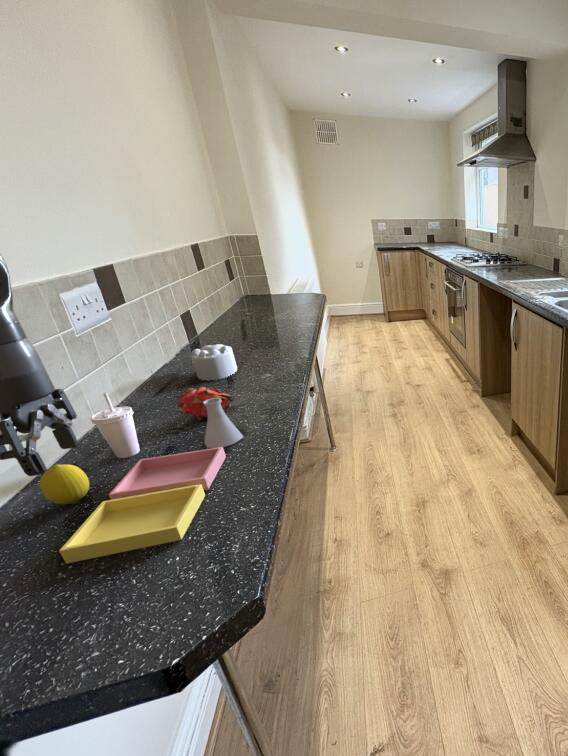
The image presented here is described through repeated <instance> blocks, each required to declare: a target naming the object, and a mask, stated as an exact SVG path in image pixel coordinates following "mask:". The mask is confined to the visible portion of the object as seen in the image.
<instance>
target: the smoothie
mask: <svg viewBox="0 0 568 756" xmlns="http://www.w3.org/2000/svg"><path fill="white" fill-rule="evenodd" d="M102 394H103V397H104V399H105V401H106V404H107V406H108V408H107V409H103V410H100V411H98V412H95V413H94V414H92V415H91V417H90V421H91V423H92V424H93V425H95V426H96V427H97V430H99V432H100V434H101V436H103V438H104V440H105V441H106V443H107V444H108V446H110V449H111V450H112V452H113V453H114V455H115V456H116V458H117V459H127V458H131V457H133V456H135V455H138V453H140V451H141V449H140V445H139V440H138V435H137V430H136V426H135V422H134V417H133V415H134V411H133V408H132V407H130V406H116V407H113V404H112V402H111V399H110V397H109V394H108V392H107V391H104V392H102Z"/></svg>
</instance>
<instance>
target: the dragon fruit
mask: <svg viewBox="0 0 568 756" xmlns="http://www.w3.org/2000/svg"><path fill="white" fill-rule="evenodd" d="M212 398H220V399H221V401H222V402H221V406H222V409H223V411H225V410H227V409H228V408H231V403H232V402H235V398H234V396H232V395H231V394H229V393H224V392H221V390H219V389H218V388H209V387H205V386H200V387H199V388H195V387H194V388H192V387H191V388H188V389H187V391H183V392H182V393H181V395H180V396H179V398H178V402H177V403H176V404H177V407H178V408H180V409H179V412H178V413H181V414H183V415H185V416H186V415H188V416H189V415H192V416H194V417H195V418H196V419H197V420H198V421H201V420H202V419H203V418H208V414H207V408H206V406H205V405H204V404H203V402H204V401H206V400H208V399H212Z"/></svg>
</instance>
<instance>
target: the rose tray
mask: <svg viewBox="0 0 568 756" xmlns="http://www.w3.org/2000/svg"><path fill="white" fill-rule="evenodd" d="M226 458H227V456H226V452H225V449H224V447H218V448H206V449H205V448H204V449H198V450H193V451H187V452H179V453H173V454H166V455H161V456H154V457H145V458H142V459H138V461H137V462H136V463H135V464H134V465H133V467H132V468H130V469H129V470H128V472H127V473H126V474H125V476H124V477H123V478H122V479H121V480H120V481H119V482H118V483H117V484H116V486H114V488H113V489H112V490H111V491H110V492H109V493H108V497H109V500H113V499H119V498H124V497H130V496H136V495H142V494H147V493H153V492H159V491H164V490H170V489H176V488H181V487H187V486H193V485H199V484H202V487H203V490H204V491H207V490H209V489H210V488H211V486H212V484H213V482H214V481H215V478H216V477H217V475H218V472H219V471H220V468H221V467H222V465H223V464H224V462H225V460H226Z"/></svg>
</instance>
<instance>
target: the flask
mask: <svg viewBox="0 0 568 756" xmlns="http://www.w3.org/2000/svg"><path fill="white" fill-rule="evenodd" d="M221 402H222V401H221V399H220V398H212V399H208V400H206V401H204V402H203V404H204V405H205V406H206V408H207V414H208V417H207V421H206V430H205V435H204V436H205V437H204V445H205V446H206V447H207V448H206V449H211V448H218V447H223V448H225V447H229V446H231V445H235V444H236V443H238V442H239V441H240V440H242V439H244V435H243V434H242V433H241V432H240V430H239V429H238V428H237V427H236V425H234V423H233V422H232V421H231V419H230V418H229V417H228V416H227V414H226V412H225V410H223V409H222V406H221Z"/></svg>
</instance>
